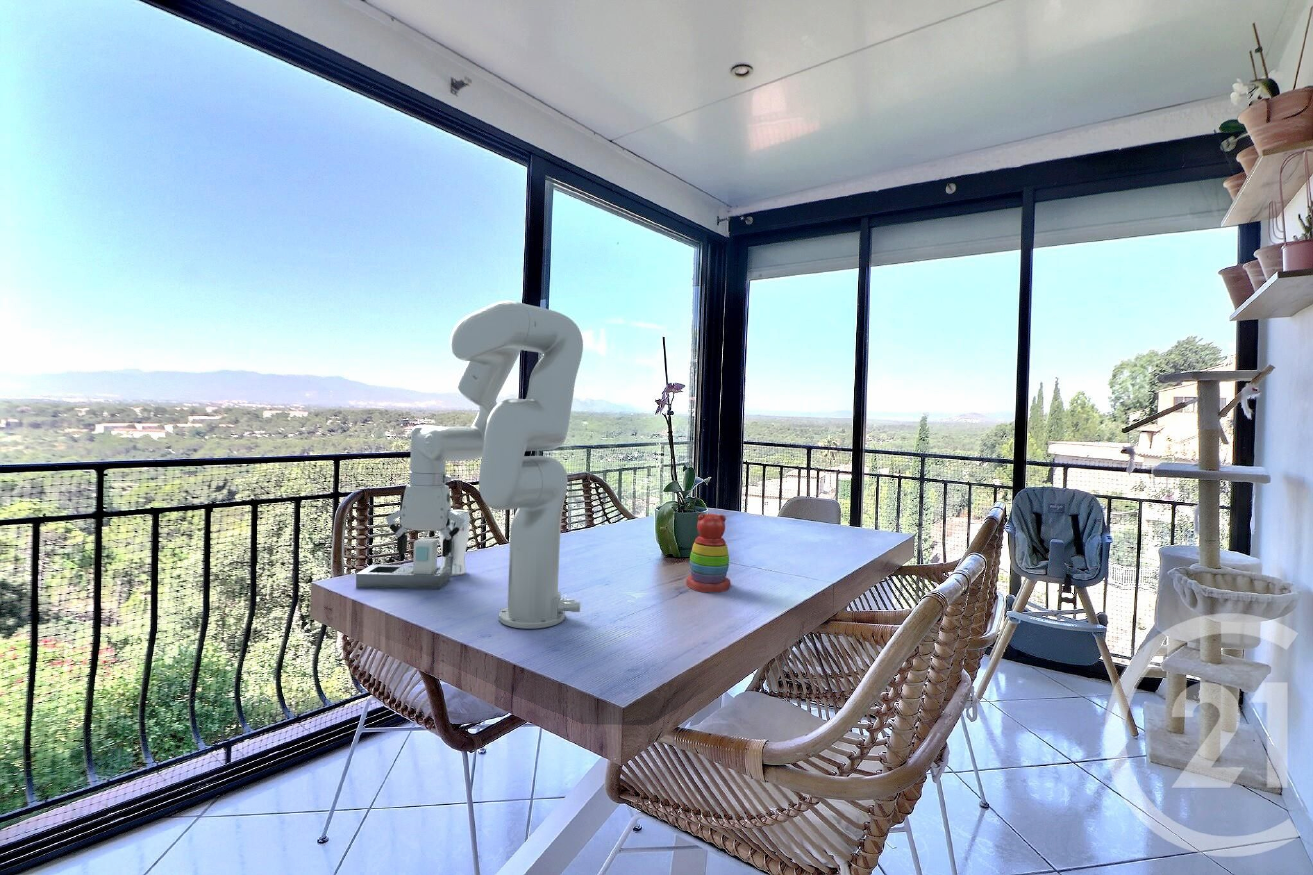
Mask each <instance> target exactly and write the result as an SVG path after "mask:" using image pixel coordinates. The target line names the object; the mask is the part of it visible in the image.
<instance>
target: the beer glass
mask: <svg viewBox="0 0 1313 875" xmlns="http://www.w3.org/2000/svg"><path fill="white" fill-rule="evenodd" d="M451 512H452V513H454V514H456V515H458V516H459V517H461V518H463V519H464V520H465V523H464V524H463V526H462V528H461V530H460V531H459V532H458V533H457V534H456V535H454V536H453V537H452V550H451V552H450V553H449V555H448V556H446V557H443V556H442V555H441V565H440V567H450V577H458V576H462V575H464V574H466V573H467V567H466V550H467V546H468V543H469V542H468V541H469V537H470V512H469V511H468V510H464V509H451ZM455 526H456V522H454V521H453V520H451V524H450V526H449V528H450V529H451V530H453V529H454V528H455ZM438 536H439V543H440V549H441V550H440V552H441V553H442V549H443V540H444V539H445V537H444V535H443V534H442V533H441V532H440V531H438Z"/></svg>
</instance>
